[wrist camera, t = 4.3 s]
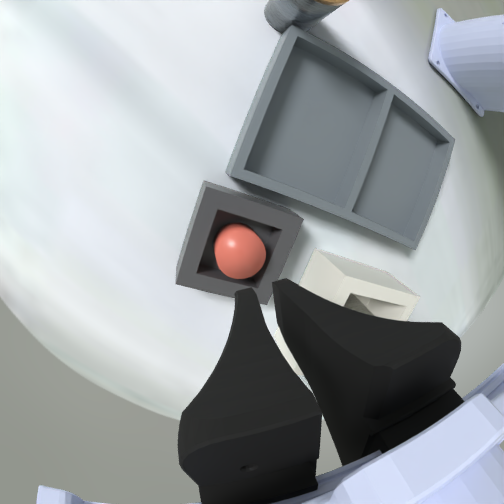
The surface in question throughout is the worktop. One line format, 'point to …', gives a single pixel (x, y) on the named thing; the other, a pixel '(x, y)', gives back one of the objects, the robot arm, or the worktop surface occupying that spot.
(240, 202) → the box
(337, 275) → the cup
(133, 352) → the worktop surface
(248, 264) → the tester button
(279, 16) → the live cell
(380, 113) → the tray
